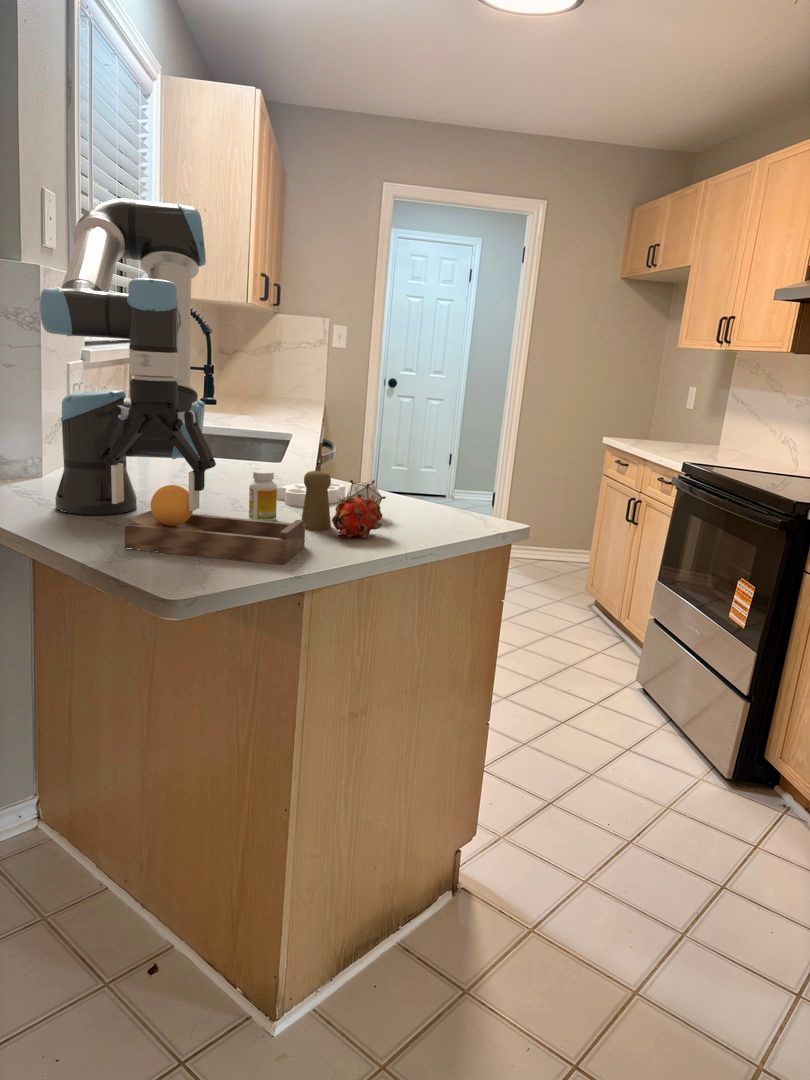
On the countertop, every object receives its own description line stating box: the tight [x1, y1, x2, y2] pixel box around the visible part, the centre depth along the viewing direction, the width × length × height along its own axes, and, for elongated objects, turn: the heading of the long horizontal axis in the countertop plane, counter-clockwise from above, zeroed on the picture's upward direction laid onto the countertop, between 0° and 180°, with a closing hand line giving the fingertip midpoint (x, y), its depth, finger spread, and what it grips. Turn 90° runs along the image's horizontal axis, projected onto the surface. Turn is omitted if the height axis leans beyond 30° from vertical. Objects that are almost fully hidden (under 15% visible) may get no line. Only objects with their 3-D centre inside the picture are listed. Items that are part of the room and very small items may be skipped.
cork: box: [300, 470, 332, 532], centre depth 150 cm, size 6×6×11 cm
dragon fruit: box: [331, 495, 383, 540], centre depth 145 cm, size 8×8×12 cm
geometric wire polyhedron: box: [340, 479, 387, 506], centre depth 161 cm, size 9×8×10 cm
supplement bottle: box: [248, 469, 278, 522], centre depth 153 cm, size 5×5×10 cm
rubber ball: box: [150, 484, 194, 526], centre depth 131 cm, size 7×7×7 cm
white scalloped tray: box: [277, 482, 346, 508], centre depth 178 cm, size 3×18×15 cm
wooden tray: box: [124, 510, 306, 566], centre depth 131 cm, size 27×12×5 cm, turn 82°
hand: (155, 506), depth 131 cm, fingers open, 13 cm apart
